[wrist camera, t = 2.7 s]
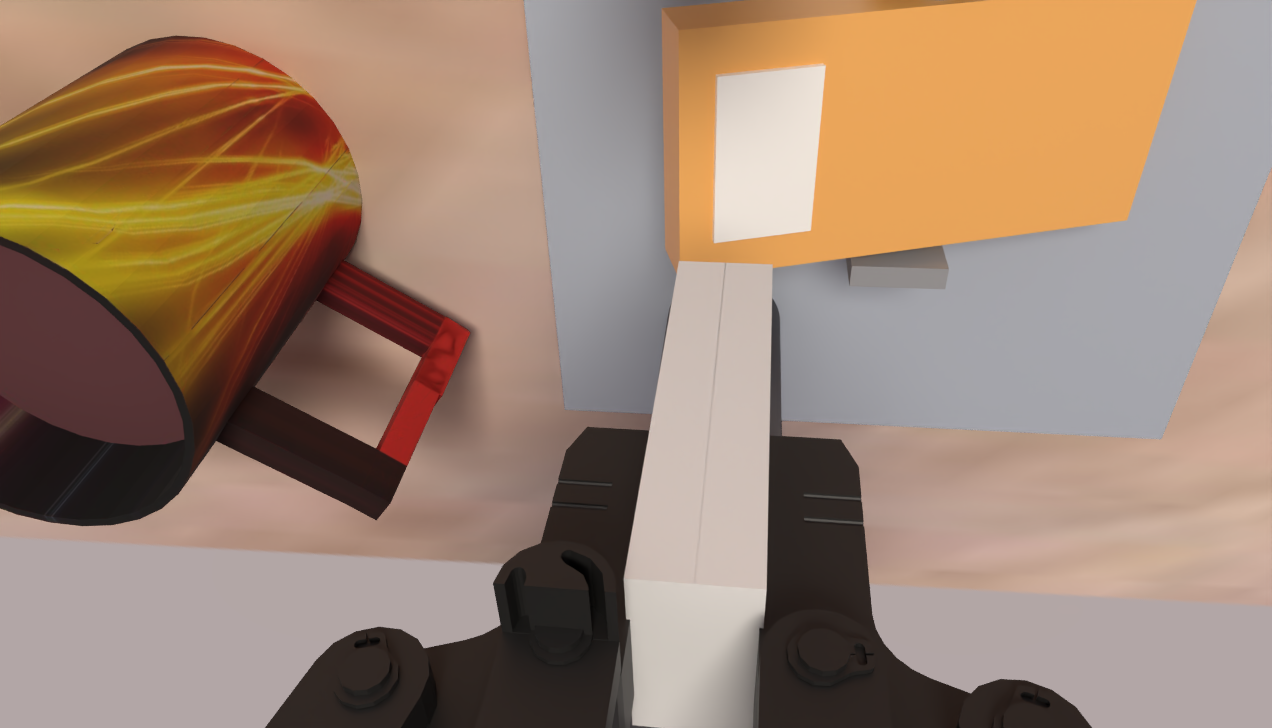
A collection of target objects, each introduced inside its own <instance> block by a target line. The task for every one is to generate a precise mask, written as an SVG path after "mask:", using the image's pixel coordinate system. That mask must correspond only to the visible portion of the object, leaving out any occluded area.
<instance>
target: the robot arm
mask: <svg viewBox="0 0 1272 728" xmlns="http://www.w3.org/2000/svg"><path fill="white" fill-rule="evenodd" d="M772 272H773V264H748V263H721V262H694V261H679V263H678V269H677V275H676V281H675V286H674V292H673V298H672V304H671V309H670V315H669V321H668V327H667V332H666V338H665V344H664V350H663V355H662V361H661V367H660V373H659V378H658V384H657V390H656V396H655V401H654V407H653V413H652V419H651V424H650V430H649V431H645V430H628V429H611V428H594V427H587V428H586V429H585V430H584V431H583V432H582V434H581V435H580V436H579V437H578V438H577V439H576V440H575V441H574V443H573V444H572V445H571V446H570V447H569V448H568V449H567V450H566V453H565V457H564V461H563V464H562V468H561V472H560V475H559V482H558V484H557V486H556V490H555V493H554V497H553V501H552V507H551V508H550V512H549V515H548V519H547V523H546V526H545V530H544V533H543V537H542V541H541V543H540V544H538V545H535V546H532V547H530V548H527V549H525V550H522V551H520V552H519V553H518V554H516V555H515V556H514V557H513V558H511V559H510V560H509V561H508V562H507V563H505V564H504V565H503V566H502V568H501V570H500V572H499V574H498V575H497V577H496V579H495V581H494V583H493V585H494V590H495V596H496V601H497V607H498V612H499V617H500V623H501V625H500V626H498V627H497V628H495V629H493V630H491V631H489V632H487V633H485V634H483V635H480V636H477V637H474V638H471V639H467V640H463V641H459V642H454V643H449V644H444V645H439V646H434V647H429V648H423V647H422V645H421V643H420V642H419V640H418V639H416V638H415V637H413V636H411V635H409V634H408V633H406V632H404V631H402V630H401V629H393V628H384V627H376V628H371V629H366V630H361V631H356V632H354V633H352V634H350V635H348V636H346V637H344V638H343V639H341V640H339V641H337V642H335V643H333V644H332V645H331V646H330V647H329V648H328V649H327V650H326V651H325V652H324V653H323V654H322V655H321V656H320V657H319V658H318V659H317V660H316V661H315V662H314V664H313V665H312V666H311V668H310V669H309V670H308V672H307V673H306V674H305V676H304V677H303V678H302V680H301V681H300V682H299V684H298V685H297V686H296V688H295V689H294V690H293V692H292V693H291V694H290V695H289V697H288V698H287V699H286V701H285V702H284V704H283V705H282V706H281V707H280V709H279V710H278V711H277V713H276V714H275V715H274V717H273V718H272V719H271V721H270V722H269V723H268V725H267V726H266V727H265V728H630V721H631V714H632V725H636V726H646V727H657V728H1092V727H1091V726H1090V725H1089V723H1088V722H1087V721H1086V719H1085V718H1084V717H1083V716H1082V715H1081V713H1080V712H1079V711H1078V709H1077V708H1076V707H1075V706H1074V705H1072V704H1071V703H1069V702H1068V701H1067V700H1065V699H1064V698H1062V697H1061V696H1060V695H1058V694H1057V693H1055V692H1054V691H1053V690H1050V689H1048V688H1045V687H1042V686H1039V685H1037V684H1034V683H1031V682H1028V681H1025V680H1007V679H1006V680H1005V679H1000V680H996V681H993V682H990V683H987V684H984V685H981V686H978V687H977V688H976V689H975V690H974V691H973V692H972V693H971V694H970V693H968V692H965V691H962V690H960V689H957V688H954V687H952V686H949V685H946V684H944V683H941V682H939V681H936V680H933V679H931V678H929V677H927V676H924V675H922V674H920V673H918V672H916V671H914V670H912V669H911V668H909V667H908V666H907V665H906V664H904V663H903V662H902V661H900V660H899V659H897V658H896V657H895V656H894V655H893V653H892V652H891V651H890V650H889V649H888V648H887V647H886V646H885V644H884V643H883V641H882V639H881V638H880V636H879V634H878V632H877V630H876V628H875V624H874V620H873V616H872V607H871V597H870V586H869V575H868V564H867V553H866V542H865V531H864V527H863V510H862V502H861V488H860V477H859V467H858V465H857V464H856V462H855V461H854V459H853V458H852V456H851V455H850V453H849V451H848V450H847V448H846V447H845V445H844V444H843V442H842V441H841V440H837V439H820V438H803V437H786V436H769V433H770V379H771V326H772Z"/></svg>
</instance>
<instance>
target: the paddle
mask: <svg viewBox="0 0 1272 728" xmlns="http://www.w3.org/2000/svg"><path fill="white" fill-rule="evenodd" d="M1196 2H1197V0H744V1H733V2H723V3H712V4H701V5H690V6H679V7H669V8H661V9H662V76H663V143H664V209H665V250H666V252H667V254H668V256H669V258H670V260H671V263H672V265H673V267H674V269H675V271H676V274H677V269H678V263H679V261H694V262H721V263H748V264H773V268H777V267H784V266H792V265H799V264H806V263H814V262H821V261H829V260H836V259H844V258H851V257H858V256H866V255H873V254H881V253H888V252H895V251H903V250H910V249H918V248H925V247H933V246H940V245H947V244H955V243H962V242H970V241H977V240H985V239H992V238H999V237H1007V236H1014V235H1022V234H1029V233H1036V232H1044V231H1051V230H1059V229H1066V228H1074V227H1081V226H1088V225H1096V224H1103V223H1111V222H1118V221H1125V220H1127V219H1128V216H1129V213H1130V210H1131V206H1132V203H1133V200H1134V197H1135V194H1136V191H1137V188H1138V184H1139V181H1140V178H1141V175H1142V172H1143V169H1144V165H1145V162H1146V159H1147V156H1148V153H1149V150H1150V147H1151V143H1152V140H1153V137H1154V134H1155V131H1156V128H1157V124H1158V121H1159V118H1160V115H1161V112H1162V109H1163V106H1164V102H1165V99H1166V96H1167V93H1168V90H1169V87H1170V83H1171V80H1172V77H1173V74H1174V71H1175V68H1176V65H1177V61H1178V58H1179V55H1180V52H1181V49H1182V46H1183V42H1184V39H1185V36H1186V33H1187V30H1188V27H1189V24H1190V20H1191V17H1192V14H1193V11H1194V8H1195V5H1196Z"/></svg>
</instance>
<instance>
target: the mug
mask: <svg viewBox="0 0 1272 728" xmlns="http://www.w3.org/2000/svg"><path fill="white" fill-rule="evenodd" d="M361 211H362V195H361V189H360V183H359V177H358V173H357V170H356V167H355V164H354V162H353V159H352V156H351V154H350V151H349V148H348V146H347V145H346V143H345V141H344V139H343V138H342V136H341V134H340V133H339V131H338V129H337V127H336V126H335V124H334V122H333V121H332V120H331V119H330V117H329V116H328V115H327V114H326V112H325V111H324V110H323V109H322V108H321V106H320V105H319V104H318V103H317V101H316V100H315V99H314V98H313V97H312V96H311V95H310V94H309V93H308V92H307V91H305V90H304V89H303V88H302V87H301V86H300V85H299V84H298V83H297V82H295V81H294V80H293V79H292V78H291V77H290V76H288V75H287V74H285V73H284V72H282V71H281V70H279V69H278V68H276V67H275V66H273V65H272V64H270V63H269V62H267V61H266V60H264V59H263V58H260V57H258V56H256V55H254V54H252V53H249V52H247V51H245V50H243V49H241V48H238V47H236V46H234V45H230V44H226V43H223V42H219V41H215V40H211V39H208V38H201V37H187V36H171V37H164V38H157V39H151V40H148V41H145V42H143V43H140V44H138V45H136V46H133V47H131V48H129V49H126V50H125V51H123V52H121V53H120V54H118V55H117V56H115V57H113V58H112V59H110V60H108V61H107V62H105V63H103V64H102V65H100V66H98V67H97V68H95V69H93V70H92V71H90V72H88V73H87V74H85V75H83V76H82V77H80V78H79V79H77V80H75V81H74V82H72V83H70V84H69V85H67V86H65V87H64V88H62V89H60V90H59V91H57V92H55V93H54V94H52V95H50V96H49V97H47V98H45V99H44V100H42V101H41V102H39V103H37V104H36V105H34V106H32V107H31V108H29V109H27V110H26V111H24V112H22V113H21V114H19V115H17V116H16V117H14V118H12V119H11V120H9V121H7V122H6V123H4V124H3V125H1V126H0V509H3V510H6V511H9V512H12V513H14V514H17V515H22V516H26V517H30V518H34V519H38V520H42V521H47V522H51V523H60V524H69V525H78V526H98V525H115V524H120V523H124V522H129V521H133V520H138V519H141V518H143V517H145V516H147V515H149V514H151V513H153V512H155V511H158V510H160V509H162V508H163V507H164V506H165V505H166V504H167V503H169V502H170V501H171V500H172V499H173V498H174V497H175V496H176V495H178V494H179V492H180V491H181V490H182V488H183V487H184V485H185V484H186V483H187V481H188V480H189V478H190V477H191V476H192V474H193V473H194V471H195V470H196V469H197V467H198V466H199V464H200V463H201V461H202V460H203V459H204V457H205V456H206V454H207V453H208V452H209V450H210V449H211V447H212V446H213V445H214V443H215V442H216V441H218V442H220V443H222V444H224V445H226V446H228V447H230V448H232V449H234V450H236V451H238V452H240V453H242V454H244V455H246V456H248V457H250V458H252V459H254V460H257V461H259V462H261V463H263V464H265V465H267V466H269V467H271V468H273V469H275V470H277V471H279V472H281V473H283V474H285V475H287V476H289V477H291V478H293V479H296V480H298V481H300V482H302V483H304V484H306V485H308V486H310V487H312V488H314V489H316V490H318V491H320V492H322V493H324V494H326V495H328V496H330V497H332V498H334V499H337V500H339V501H341V502H343V503H345V504H347V505H349V506H351V507H352V508H354V509H356V510H358V511H360V512H362V513H364V514H366V515H367V516H369V517H371V518H373V519H375V520H377V519H378V518H379V516H380V515H381V514H382V513H383V512H384V510H385V509H386V508H387V507H388V505H389V504H390V503H391V501H392V498H393V496H394V494H395V492H396V490H397V487H398V485H399V483H400V481H401V478H402V476H403V474H404V472H405V470H406V467H407V465H408V463H409V461H410V459H411V456H412V454H413V452H414V450H415V447H416V445H417V443H418V441H419V439H420V436H421V434H422V432H423V430H424V427H425V425H426V423H427V421H428V419H429V416H430V414H431V412H432V410H433V407H434V406H435V404H436V403H437V402H438V400H439V399H440V398H441V397H442V395H443V393H444V390H445V388H446V386H447V384H448V381H449V379H450V377H451V375H452V373H453V370H454V368H455V366H456V364H457V361H458V359H459V357H460V355H461V352H462V350H463V348H464V346H465V343H466V341H467V339H468V337H469V334H470V332H469V331H468V330H467V329H466V328H464V327H462V326H461V325H459V324H457V323H456V322H454V321H453V320H451V319H449V318H448V317H445V316H443V315H441V314H440V313H438V312H436V311H434V310H432V309H431V308H429V307H427V306H425V305H423V304H422V303H420V302H418V301H416V300H414V299H413V298H411V297H409V296H407V295H405V294H404V293H402V292H400V291H398V290H396V289H395V288H393V287H391V286H389V285H387V284H386V283H384V282H382V281H380V280H378V279H377V278H375V277H373V276H371V275H369V274H368V273H366V272H364V271H362V270H360V269H359V268H357V267H355V266H353V265H351V264H350V263H348V262H346V261H344V260H345V258H346V257H347V255H348V253H349V252H350V250H351V248H352V247H353V245H354V243H355V240H356V237H357V234H358V230H359V227H360V224H361ZM315 301H318V302H320V303H322V304H324V305H326V306H328V307H329V308H331V309H333V310H335V311H337V312H339V313H341V314H342V315H344V316H346V317H348V318H350V319H352V320H353V321H355V322H357V323H359V324H361V325H363V326H365V327H366V328H368V329H370V330H372V331H374V332H376V333H377V334H379V335H381V336H383V337H385V338H387V339H389V340H390V341H392V342H394V343H396V344H398V345H400V346H402V347H403V348H405V349H407V350H409V351H411V352H413V353H414V354H416V355H418V356H420V357H422V358H421V360H420V362H419V364H418V366H417V368H416V370H415V372H414V374H413V376H412V378H411V380H410V382H409V384H408V386H407V388H406V390H405V392H404V394H403V396H402V398H401V400H400V402H399V404H398V406H397V408H396V410H395V412H394V414H393V416H392V418H391V420H390V422H389V424H388V426H387V428H386V430H385V432H384V434H383V436H382V438H381V440H380V442H379V444H378V446H377V448H374V447H372V446H370V445H368V444H366V443H364V442H362V441H360V440H358V439H356V438H354V437H352V436H350V435H348V434H346V433H344V432H342V431H340V430H338V429H336V428H334V427H332V426H330V425H328V424H326V423H324V422H322V421H320V420H318V419H316V418H314V417H312V416H311V415H309V414H307V413H305V412H303V411H301V410H299V409H297V408H295V407H293V406H291V405H289V404H287V403H285V402H283V401H281V400H279V399H277V398H275V397H273V396H271V395H269V394H267V393H265V392H263V391H261V390H259V389H257V388H255V385H256V384H257V383H258V381H259V380H260V378H261V377H262V376H263V374H264V373H265V371H266V370H267V369H268V367H269V366H270V364H271V363H272V361H273V360H274V359H275V357H276V356H277V354H278V353H279V352H280V350H281V349H282V347H283V346H284V345H285V343H286V342H287V340H288V339H289V338H290V336H291V335H292V333H293V332H294V330H295V329H296V328H297V326H298V325H299V323H300V322H301V321H302V319H303V318H304V316H305V315H306V314H307V312H308V311H309V309H310V308H311V307H312V305H313V304H314V302H315Z"/></svg>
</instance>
